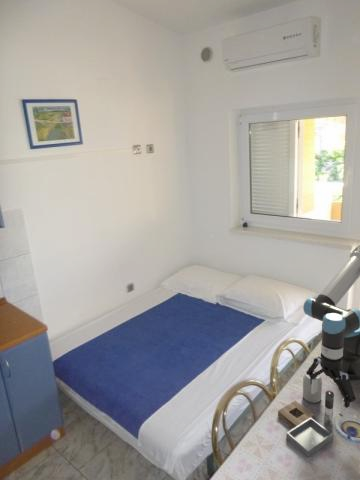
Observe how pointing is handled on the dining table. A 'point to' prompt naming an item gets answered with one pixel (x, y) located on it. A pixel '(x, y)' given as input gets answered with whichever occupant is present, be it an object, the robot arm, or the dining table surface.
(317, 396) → the can
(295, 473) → the dining table surface
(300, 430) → the tray
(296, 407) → the plate
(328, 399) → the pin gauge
